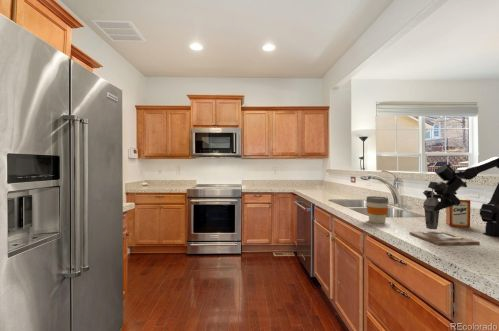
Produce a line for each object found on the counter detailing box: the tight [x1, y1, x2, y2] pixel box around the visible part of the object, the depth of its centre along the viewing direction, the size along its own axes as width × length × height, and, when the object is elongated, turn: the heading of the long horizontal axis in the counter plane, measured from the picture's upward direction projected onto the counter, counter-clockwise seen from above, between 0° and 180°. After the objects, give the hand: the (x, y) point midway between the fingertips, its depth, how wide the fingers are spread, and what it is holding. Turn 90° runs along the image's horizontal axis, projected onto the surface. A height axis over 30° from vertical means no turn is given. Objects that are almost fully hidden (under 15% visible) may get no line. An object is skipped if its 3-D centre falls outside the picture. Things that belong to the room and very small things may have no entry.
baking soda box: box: [445, 197, 471, 228], centre depth 151 cm, size 10×6×16 cm
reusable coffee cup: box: [365, 195, 389, 224], centre depth 161 cm, size 12×13×15 cm
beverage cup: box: [423, 189, 440, 230], centre depth 130 cm, size 7×7×20 cm
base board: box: [409, 230, 480, 246], centre depth 124 cm, size 20×18×2 cm
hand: (429, 209), depth 130 cm, fingers closed on beverage cup, 7 cm apart
